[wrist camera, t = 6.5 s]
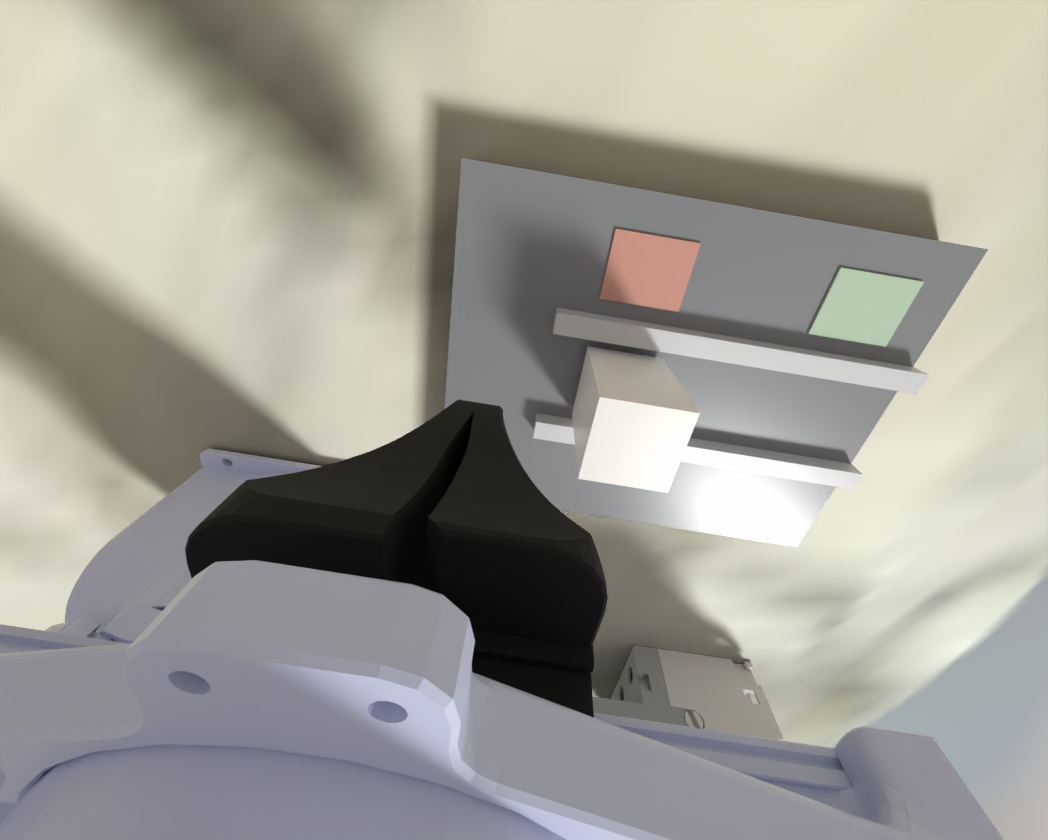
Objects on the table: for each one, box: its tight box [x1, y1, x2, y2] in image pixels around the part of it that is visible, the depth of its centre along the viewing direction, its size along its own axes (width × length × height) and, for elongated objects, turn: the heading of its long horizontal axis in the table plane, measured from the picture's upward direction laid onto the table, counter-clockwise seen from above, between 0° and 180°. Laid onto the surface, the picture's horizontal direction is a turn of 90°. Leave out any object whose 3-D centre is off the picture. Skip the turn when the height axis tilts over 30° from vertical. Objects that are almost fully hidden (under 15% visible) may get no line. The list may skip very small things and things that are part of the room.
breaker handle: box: [572, 346, 700, 493], centre depth 15 cm, size 3×3×5 cm
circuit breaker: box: [592, 645, 783, 741], centre depth 24 cm, size 8×14×15 cm, turn 82°
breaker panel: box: [444, 158, 988, 547], centre depth 18 cm, size 18×14×3 cm
